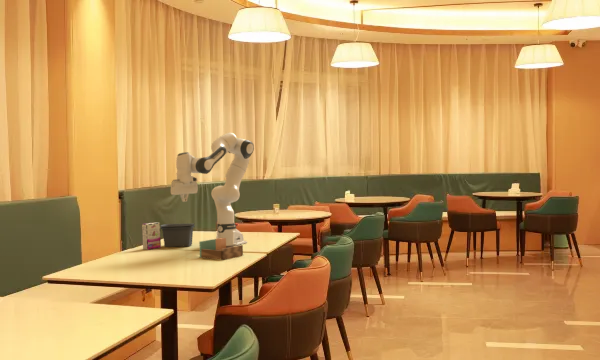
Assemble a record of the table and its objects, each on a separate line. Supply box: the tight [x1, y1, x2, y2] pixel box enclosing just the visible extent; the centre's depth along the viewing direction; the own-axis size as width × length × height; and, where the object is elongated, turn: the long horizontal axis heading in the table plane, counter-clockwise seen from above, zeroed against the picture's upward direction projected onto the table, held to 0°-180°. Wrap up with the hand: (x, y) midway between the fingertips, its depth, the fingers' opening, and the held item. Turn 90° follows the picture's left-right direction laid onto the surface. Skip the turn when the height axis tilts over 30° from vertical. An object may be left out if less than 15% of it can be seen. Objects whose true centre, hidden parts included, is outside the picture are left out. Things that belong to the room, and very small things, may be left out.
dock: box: [200, 244, 244, 261], centre depth 377 cm, size 18×16×6 cm
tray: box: [198, 238, 216, 258], centre depth 378 cm, size 17×16×9 cm
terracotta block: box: [215, 238, 226, 250], centre depth 377 cm, size 4×4×9 cm
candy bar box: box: [141, 222, 162, 251], centre depth 417 cm, size 11×5×16 cm, turn 143°
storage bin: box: [160, 222, 196, 248], centre depth 428 cm, size 21×16×14 cm
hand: (184, 201), depth 396 cm, fingers closed
